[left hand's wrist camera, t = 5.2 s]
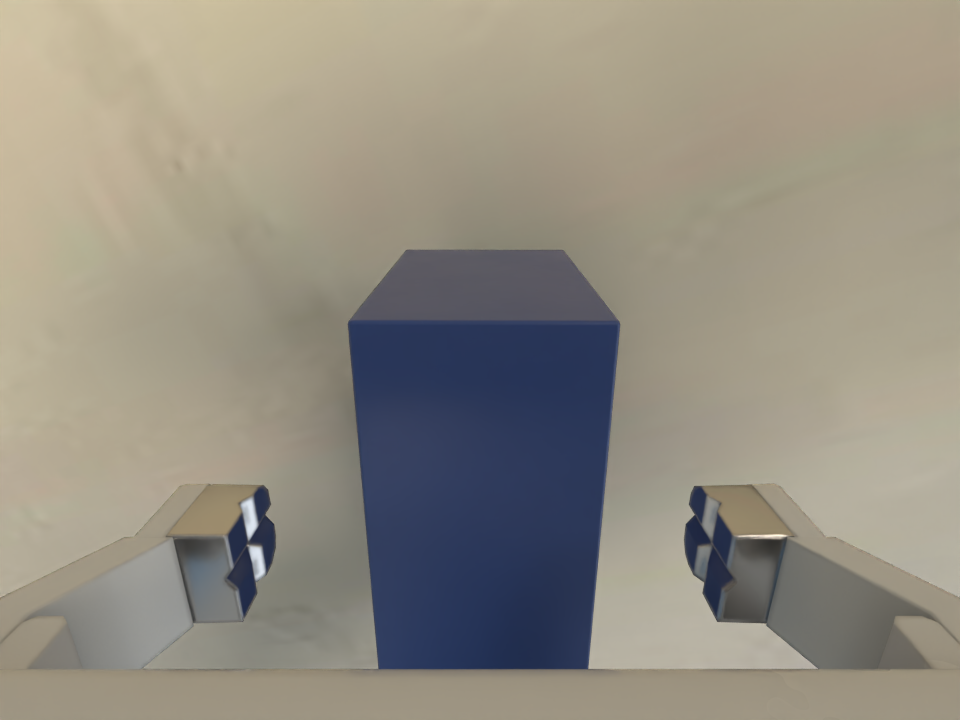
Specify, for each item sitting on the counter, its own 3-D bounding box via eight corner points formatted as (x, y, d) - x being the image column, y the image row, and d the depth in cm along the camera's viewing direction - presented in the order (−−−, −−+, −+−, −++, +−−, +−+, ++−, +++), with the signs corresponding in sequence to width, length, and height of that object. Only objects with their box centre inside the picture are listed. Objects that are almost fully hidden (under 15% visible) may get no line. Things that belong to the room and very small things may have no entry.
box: (405, 249, 21) (346, 320, 12) (564, 249, 21) (621, 321, 12) (425, 669, 28) (398, 901, 20) (541, 670, 28) (566, 903, 20)
